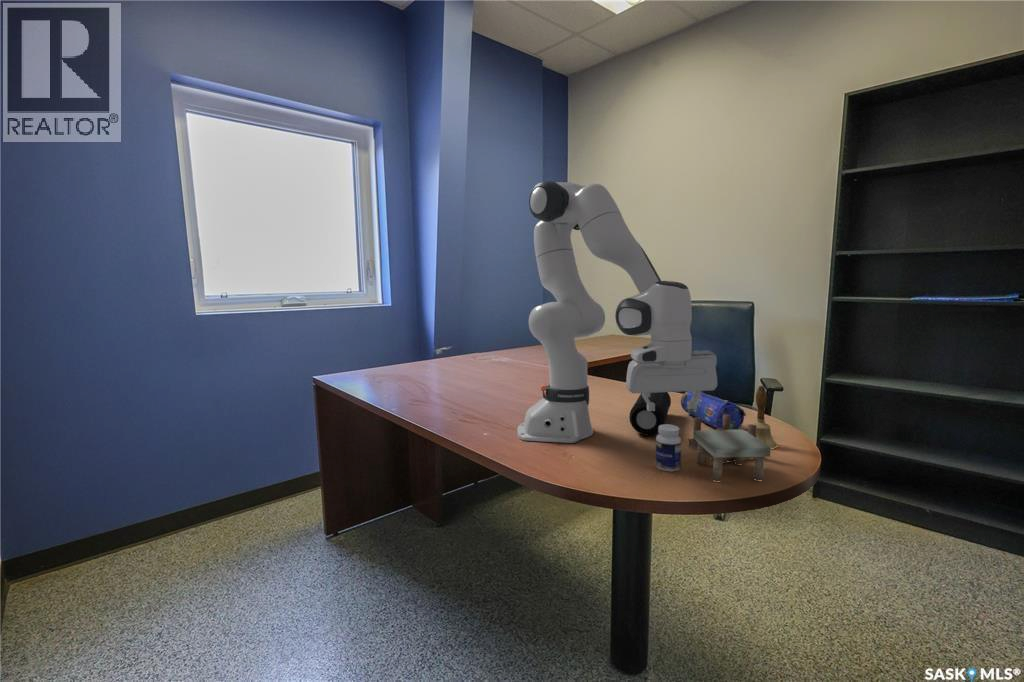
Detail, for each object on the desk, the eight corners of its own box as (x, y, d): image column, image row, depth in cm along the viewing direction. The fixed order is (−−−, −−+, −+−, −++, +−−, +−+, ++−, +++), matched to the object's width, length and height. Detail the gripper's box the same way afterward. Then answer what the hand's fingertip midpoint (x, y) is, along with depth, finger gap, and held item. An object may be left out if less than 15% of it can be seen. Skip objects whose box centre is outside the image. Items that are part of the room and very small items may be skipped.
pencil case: (746, 434, 128) (748, 402, 127) (719, 436, 127) (720, 404, 126) (702, 412, 150) (703, 384, 149) (678, 414, 149) (679, 386, 147)
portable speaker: (663, 440, 125) (664, 405, 124) (627, 436, 129) (627, 402, 128) (671, 414, 149) (671, 385, 147) (640, 411, 153) (640, 383, 151)
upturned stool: (718, 463, 109) (719, 431, 108) (688, 446, 120) (689, 417, 119) (760, 457, 111) (761, 426, 110) (726, 441, 123) (727, 413, 122)
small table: (713, 483, 98) (714, 448, 97) (692, 461, 110) (693, 430, 109) (768, 482, 98) (770, 447, 97) (742, 460, 110) (743, 429, 109)
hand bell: (759, 451, 115) (762, 391, 113) (735, 441, 123) (737, 384, 121) (785, 447, 118) (788, 388, 116) (759, 437, 126) (762, 381, 123)
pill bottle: (650, 467, 107) (651, 427, 106) (662, 460, 111) (663, 421, 110) (673, 474, 103) (674, 432, 102) (684, 466, 107) (685, 426, 106)
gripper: (710, 348, 106) (710, 405, 108) (624, 351, 107) (624, 407, 108) (722, 351, 100) (722, 412, 102) (630, 355, 101) (631, 415, 102)
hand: (671, 410), depth 105 cm, fingers open, 8 cm apart
